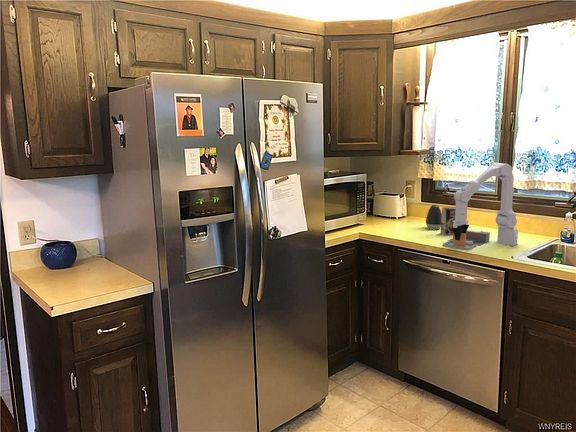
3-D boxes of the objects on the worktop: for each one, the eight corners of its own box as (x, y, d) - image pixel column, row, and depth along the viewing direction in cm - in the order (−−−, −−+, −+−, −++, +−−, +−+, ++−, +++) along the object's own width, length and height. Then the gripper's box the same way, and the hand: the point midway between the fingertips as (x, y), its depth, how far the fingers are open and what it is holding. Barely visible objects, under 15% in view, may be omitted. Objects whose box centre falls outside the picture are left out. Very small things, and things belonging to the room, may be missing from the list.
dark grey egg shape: (423, 229, 287) (424, 205, 284) (428, 226, 296) (429, 202, 293) (439, 231, 282) (440, 206, 279) (444, 227, 290) (445, 204, 287)
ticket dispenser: (489, 242, 252) (489, 231, 251) (479, 247, 243) (480, 236, 242) (457, 237, 265) (457, 227, 263) (446, 241, 255) (447, 231, 254)
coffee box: (445, 236, 268) (446, 209, 265) (440, 234, 274) (441, 207, 271) (460, 235, 269) (461, 208, 266) (454, 233, 275) (455, 206, 272)
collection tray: (476, 247, 242) (476, 244, 242) (468, 251, 235) (468, 248, 235) (450, 243, 252) (450, 240, 252) (442, 247, 245) (442, 243, 244)
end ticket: (465, 246, 242) (466, 233, 241) (464, 247, 241) (465, 234, 240) (454, 244, 246) (455, 232, 245) (453, 245, 245) (453, 232, 244)
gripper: (459, 210, 248) (458, 235, 251) (447, 214, 238) (446, 240, 240) (472, 212, 243) (471, 237, 246) (461, 216, 233) (459, 242, 235)
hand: (459, 238), depth 243 cm, fingers open, 5 cm apart
